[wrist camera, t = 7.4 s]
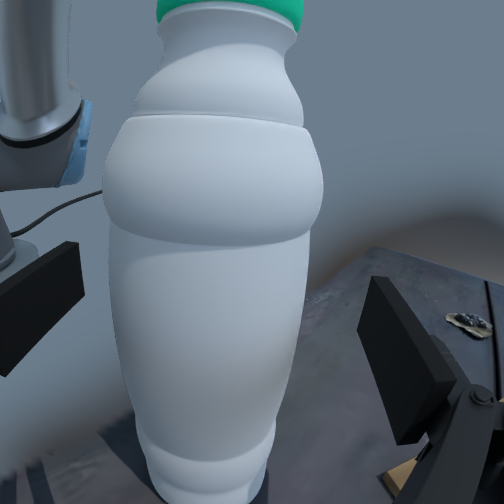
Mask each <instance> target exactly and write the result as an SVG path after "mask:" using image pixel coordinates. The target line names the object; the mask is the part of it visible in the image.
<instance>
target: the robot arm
mask: <svg viewBox="0 0 504 504" xmlns="http://www.w3.org/2000/svg"><path fill="white" fill-rule="evenodd" d="M71 6H72V0H0V96H1V103H0V192H4V191H12V190H24V189H37V188H51V187H55V188H58V187H60V186H64V185H72V184H76V183H78V182H79V181H80V180H81V179H82V177H83V175H84V169H85V160H86V151H87V142H88V135H89V129H90V121H91V115H92V107H93V104H92V102H90V101H86V100H85V99H84V100H81V94H80V90H79V88H78V86H77V85H76V84H75V83H74V82H72V81H71V80H69V77H68V76H69V74H68V73H69V69H68V68H69V66H68V65H69V32H70V17H71ZM101 193H102V190H101V191H97V192H94V193H91V194H88V195H85V196H82V197H79V198H76V199H74V200H71V201H69V202H66V203H64V204H62V205H60V206H58V207H56V208H54V209H52V210H51V211H49V212H47V213H46V214H44V215H43V216H42V217H40V218H39V219H37V220H36V221H35V222H33V223H31V224H30V225H28V226H27V227H25V228H23V229H21V230H19V231H16V232H12V233H10V232H9V229H8V227H7V225H6V223H5V220H4V218H3V215H2V213H1V210H0V272H1V271H3V270H4V269H6V268H7V267H8V266H9V265H10V264H11V263H12V262H13V261H14V260H15V258H16V250H15V243H14V241H13V239H12V238H13V237H16V236H19V235H22V234H24V233H26V232H27V231H29V230H30V229H32V228H33V227H35V226H36V225H38V224H39V223H41V222H42V221H43V220H45V219H46V218H47V217H49V216H50V215H52V214H53V213H55V212H57V211H58V210H60V209H62V208H64V207H66V206H68V205H71V204H73V203H76V202H78V201H81V200H83V199H86V198H89V197H92V196H95V195H98V194H101ZM84 296H85V292H84V286H83V278H82V270H81V261H80V252H79V243H77V242H69V241H65V242H64V243H62V244H61V245H59V246H57V247H56V248H54V249H52V250H51V251H49V252H48V253H46V254H44V255H43V256H41V257H39V258H38V259H36V260H35V261H33V262H31V263H30V264H28V265H27V266H25V267H24V268H22V269H21V270H19V271H18V272H16V273H15V274H13V275H12V276H10V277H9V278H7V279H6V280H4V281H3V282H1V283H0V375H1V376H3V377H6V376H7V375H8V374H9V373H10V372H11V371H12V369H13V368H14V367H15V366H16V365H17V364H18V363H19V362H20V361H21V360H22V359H23V358H24V356H25V355H26V354H27V353H28V352H29V351H30V350H31V349H32V348H33V347H34V346H35V345H36V344H37V343H38V342H39V340H41V338H42V337H43V336H44V335H45V334H46V333H47V332H48V331H49V330H50V329H51V328H52V327H53V326H54V325H55V324H56V323H57V322H58V321H59V320H60V319H61V318H62V317H63V316H64V315H65V314H66V313H67V312H68V311H69V310H70V309H71V308H72V307H73V306H74V305H75V304H76V303H77V302H79V301H80V300H81V298H83V297H84ZM357 332H358V335H359V337H360V340H361V343H362V345H363V348H364V351H365V353H366V356H367V359H368V361H369V364H370V367H371V370H372V372H373V375H374V378H375V381H376V384H377V387H378V389H379V392H380V395H381V398H382V401H383V404H384V407H385V410H386V413H387V416H388V419H389V422H390V425H391V428H392V432H393V435H394V438H395V441H396V444H397V446H398V445H407V444H414V443H418V442H419V440H420V439H421V437H422V436H423V435H424V433H425V432H427V435H428V437H429V441H428V443H427V444H426V445H425V447H424V448H423V449H422V451H421V452H420V453H419V455H418V456H417V457H416V458H415V460H416V461H417V462H416V464H415V466H414V468H413V470H412V472H411V473H410V475H409V477H408V479H407V480H406V482H405V484H404V485H403V487H402V489H401V490H400V492H399V494H398V495H397V497H396V498H395V500H394V502H393V503H392V504H504V402H500V401H497V400H496V398H495V396H494V394H493V393H492V392H491V391H490V390H489V389H487V388H485V387H483V386H481V385H477V384H471V383H470V381H469V380H468V378H467V377H466V375H465V374H464V372H463V370H462V369H461V367H460V366H459V364H458V363H457V361H455V358H454V357H453V355H452V354H450V351H449V350H448V348H447V347H446V345H445V344H444V343H443V342H442V341H441V340H440V339H438V338H437V337H436V336H435V335H428V333H427V332H426V330H425V329H424V327H423V326H422V324H421V323H420V321H419V320H418V318H417V317H416V316H415V314H414V313H413V311H412V310H411V308H410V307H409V306H408V304H407V303H406V301H405V300H404V299H403V297H402V296H401V295H400V293H399V292H398V290H397V289H396V288H395V286H394V285H393V284H392V282H391V281H390V280H389V278H388V277H380V276H372V277H371V280H370V284H369V288H368V292H367V296H366V299H365V303H364V307H363V310H362V314H361V317H360V321H359V324H358V327H357Z"/></svg>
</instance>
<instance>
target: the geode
mask: <svg viewBox="0 0 504 504" xmlns="http://www.w3.org/2000/svg"><path fill="white" fill-rule="evenodd" d="M445 317H446V318H445V319H446V320H447V321H451V322H452V323H453V324H455V325H456V326H460V327H464V328H465V329H466V330H468V331H470V332H471V333H472V334H473V335H474V336H476V337H480V338H482V337H485V338H486V337H488V335H492V332H491V331H492V329H490V327H492V325H491V324H489V323H488V322H486V321H485V320H483V319H482V318H480V317H479V316H478V315H475V313H466V314H461V313H458V314H454V313H453V314H452V313H449V314H446V316H445ZM487 334H488V335H487Z"/></svg>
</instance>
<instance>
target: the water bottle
mask: <svg viewBox="0 0 504 504" xmlns="http://www.w3.org/2000/svg"><path fill="white" fill-rule="evenodd" d="M303 7H304V0H158V2H157V11H156V15H157V21H158V26H157V33H158V35H159V36H160V37H161V38H162V39H163V41H164V54H163V57H162V60H161V62H160V64H159V65H158V67H157V68H156V70H155V71H154V72H153V73H152V75H151V76H150V77H149V78H148V80H147V81H146V82H145V83H144V85H143V86H142V87H141V89H140V91H139V92H138V94H137V96H136V99H135V102H134V105H133V109H132V116H133V117H132V118H129V119H127V120H126V121H125V122H124V124H123V126H122V128H121V129H120V131H119V133H118V135H117V137H116V139H115V141H114V143H113V145H112V147H111V149H110V151H109V154H108V156H107V159H106V162H105V166H104V170H103V177H102V193H103V200H104V204H105V208H106V210H107V213H108V215H109V217H110V231H109V285H110V298H111V308H112V317H113V324H114V331H115V338H116V343H117V349H118V354H119V359H120V364H121V369H122V372H123V377H124V381H125V385H126V388H127V392H128V395H129V398H130V401H131V404H132V407H133V409H134V412H135V414H136V415H135V421H136V430H137V435H138V439H139V442H140V445H141V448H142V451H143V453H144V455H145V457H146V463H147V468H148V472H149V475H150V478H151V481H152V483H153V485H154V487H155V489H156V491H157V492H158V493H159V495H160V496H161V497H162V498H163V499H164V500H165V501H166V502H167V503H169V504H249V503H250V502H251V501H252V500H253V499H254V497H255V496H256V495H257V493H258V492H259V490H260V488H261V485H262V483H263V479H264V475H265V470H266V462H267V458H268V456H269V454H270V451H271V448H272V445H273V441H274V436H275V428H276V419H275V418H276V416H277V413H278V410H279V408H280V405H281V402H282V399H283V396H284V392H285V389H286V386H287V382H288V378H289V374H290V370H291V366H292V362H293V357H294V353H295V348H296V343H297V338H298V333H299V328H300V323H301V317H302V311H303V304H304V297H305V290H306V282H307V271H308V261H309V244H310V228H311V226H312V225H313V223H314V222H315V220H316V218H317V216H318V213H319V210H320V207H321V203H322V197H323V176H322V170H321V166H320V162H319V159H318V156H317V153H316V150H315V147H314V144H313V142H312V139H311V136H310V134H309V132H308V131H307V130H306V129H304V128H302V126H303V123H304V116H303V108H302V105H301V102H300V99H299V97H298V95H297V93H296V91H295V89H294V88H293V86H292V84H291V82H290V80H289V78H288V76H287V74H286V72H285V68H284V56H285V52H286V51H287V49H288V48H289V47H291V46H292V45H293V44H294V43H295V42H296V40H297V32H298V31H299V28H300V25H301V22H302V15H303Z"/></svg>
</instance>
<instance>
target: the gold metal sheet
mask: <svg viewBox="0 0 504 504" xmlns="http://www.w3.org/2000/svg"><path fill="white" fill-rule="evenodd" d="M500 402H504V398H503V399H501V400H500ZM416 457H417V456H416ZM416 457H414V458H412V459H410V460H408V461H407V462H405V463H403V464H401V465H399V466H397V467H395V468H393V469H391V470H389V471H387V472H386V473H385V474H384V476H383V477H382V479H383V481H384V482H385V483H386V485H387V486H388V488H389V489H390V491H391V492H392V494H393V495H394V496H395V498H396V497H397V495H398V494H399V492H400V490H401V489H402V487H403V485H404V484H405V482H406V480H407V479H408V477H409V475H410V473H411V472H412V470H413V468H414V466H415V464H416V462H417V461H416V460H415V458H416Z"/></svg>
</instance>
